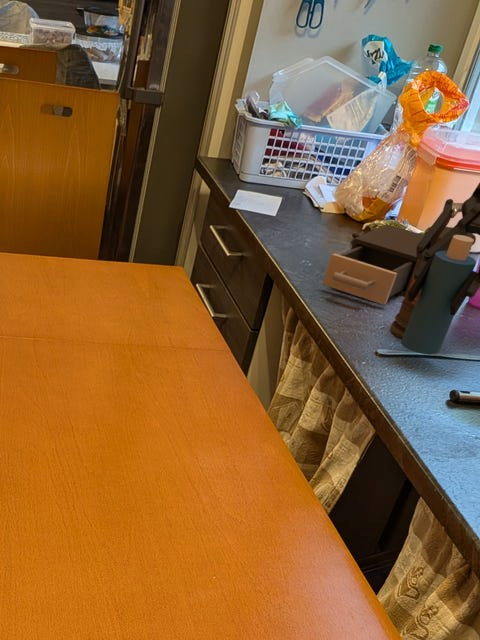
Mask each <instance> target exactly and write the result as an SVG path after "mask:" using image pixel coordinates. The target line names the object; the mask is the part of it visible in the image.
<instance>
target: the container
mask: <svg viewBox="0 0 480 640" xmlns="http://www.w3.org/2000/svg"><path fill="white" fill-rule="evenodd" d="M430 228H431V226H429V227H427V228H426V229H425V230H424V233H423V235H424V236H425V234H426V233H427V232H428V230H429V229H430ZM452 228H453V226H452V227H451V226H446V227H445V229H444V230H443V231H442V233H441V234H440V235H439V237H438V238H437V239H436V241H435V242H434V243H433V245H434V244H435V243H436V242H437V241H439V240H440V239H441V238H442V237H443V236H444V235H445V234H447V233H448V232H449V231H450V230H451V229H452ZM466 236H467V237H470V238H472V239H473V240H474V242H473V244H472V246H474V245H475V243H476V241H477V237H476V234H471V233H468V234H467V235H466ZM433 245H432V246H433ZM432 246H431V247H432ZM431 247H430V248H431ZM471 250H472V248H471V249H470V251H471ZM447 251H448V250H447ZM420 262H421V259H418V261H417V263H416V266H415V269H414V271H415V270H416V268H417V267H418V265H419V263H420ZM414 282H415V280H414V272H413V275H412V278H411V281H410V284H409V287H408V290H407V292H406V295H405V297H404V298H403V299H402V300H401V305H400V308H399V311H398V312H397V314H396V315H395V316H394V320H393V322H392V323H391V325H390V332H391V334H392V335H394V336H395V337H397V338H399V339H401V340H402V338H403V336H404V333H405V331H406V328H407V325H408V323H409V320H410V318H411V315H412V312H413V310H414V307H415V305H416V302H417V300H418V297H419V294H420V292H421V290H420V291H419V293H418V295H417V296H416V298H415V299H414V301H413V302H411V301H408V292H409V290H410V288H411V287H412V285H413V284H414ZM422 287H423V286H422ZM421 289H422V288H421Z"/></svg>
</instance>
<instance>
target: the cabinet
mask: <svg viewBox="0 0 480 640" xmlns="http://www.w3.org/2000/svg"><path fill="white" fill-rule="evenodd" d="M423 237H424V233H423V234H422V233H419V232H415V231H412V230H408V229H405V228H402V227H398V226H394V225H391V224H384V225H382V226H379V227H377V228H375V229H372V230H370V231H368V232H366V233H364V234H361V235H359V236H357V237H354V238H353V241H352V244H351V248H350V250H352V249H354V248H356V247H359V246H361V245H362V246H366V247H369V248H372V249H375V250H379V251H382V252H385V253H389V254H392V255H395V256H398V257H402V258H405V259H408V260H412V261H415V262H416V263H417V261H418V258H417V257H416V247H417V245H418V244H419V242H420V241H421V240H422V238H423ZM416 263H415V266H416ZM415 266H414V269H415ZM414 269H413V271H412V274H411V277H410V279H409V282H408V285H407V287H406V288H405V289H403V290H401V291H399V292H398V293H396V294H395V295H398V296H402V297H404V298H405V295H406V292H407V290H408V287H409V284H410V281H411V278H412V275H413V272H414Z"/></svg>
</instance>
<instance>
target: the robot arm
mask: <svg viewBox="0 0 480 640" xmlns="http://www.w3.org/2000/svg"><path fill="white" fill-rule="evenodd" d="M459 213H461V218H460V219H459V220H458V221H457V223H456V224H455V225H454V226H452V229H451V230H450V231H449V232H448V233H447V234H445V235H444V236H443V237H442V238H441V239H440V240H439V241H437V242H436V243H435V244H434V245H433V243H434V242H435V241H436V239H437V238H438V237H439V235H440V234H441V233H442V231H443V230H444V229H445V227H448V225H449V223H450V222H451V219H454V218H455V217H456V216H457V214H459ZM430 227H431V228H430V229H429V230H428V232H427V233H426V234H425V236H424V237H423V238H422V240H421V241H420V242H419V244H418V245H417V247H416V257H417V258H418V259H421V262H420V263H419V265H418V267H417V268H416V270H415V271H414V280H415V282H414V284H413V285H412V287H411V288H410V290H409V292H408V301H411V302H413V301H414V299H415V298H416V296H417V295H418V293H419V291H420V290H421V288H422V286H423V284H424V281H425V279H426V276H427V274H428V271H429V269H430V266H431V263H432V261H433V258H434V256H435V253H436V252H438V251H447V250H448V248H449V246H450V243H451V240H452V238H453V236H454V235H463V236H466V235H467V234H468V233H471V234H473V235H478V236H480V182H479V183H478V184H477V185H476V187H475V189H474V190H473V192H472V194H471V196H470V197H469V198H467V199H466V200H465V201H463V202H454V200H453V199H452V198H448V199H446V200H445V202H444V206H443V208H442V211H441V213H440V214H439V215H438V217H437V218H436V219H435V221H434V222H433V223H432V225H431V226H430ZM432 245H433V246H432ZM431 246H432V247H431ZM430 247H431V248H430ZM478 265H479V266H478V271H475V270H473V271H472V272H471V274H470V275H469V277H468V279H467V280H466V282H465V283H464V285H463V287H462V288H461V290H460V291H459V293H458V295H457V296H456V298H455V299H454V301H453V303H452V304H451V307H450V315H453V316H454V317H455V316H456V314H457V313H458V311H459V310H460V308H461V306H462V304H463V303H464V301H465V300H466V298H467V297H468V298H471V299H472V298H473V297H474V296H476V294H477V292H478V290H479V289H480V264H478Z"/></svg>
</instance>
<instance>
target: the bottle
mask: <svg viewBox="0 0 480 640" xmlns="http://www.w3.org/2000/svg"><path fill="white" fill-rule="evenodd" d="M473 242H474V240H473V239H472V238H470V237H467V236H463V235H454V236H453V238H452V240H451V243H450V246H449V248H448V251H438V252H436V253H435V256H434V258H433V261H432V263H431V266H430V269H429V271H428V274H427V276H426V279H425V281H424V284H423V287H422V289H421V292H420V294H419V297H418V300H417V302H416V305H415V307H414V310H413V312H412V315H411V318H410V320H409V323H408V325H407V328H406V331H405V333H404V336H403V338H402V339H401V341H400V344H401V346H402V347H403V348H405V349H407V350H409V351H411V352H414V353H416V354H421V355H430V356H431V355H438V353H440V350H441V348H442V346H443V343H444V341H445V339H446V336H447V334H448V331H449V329H450V327H451V324H452V322H453V320H454V317H455V316H453V315H450V307H451V304H452V303H453V301H454V299H455V298H456V296H457V295H458V293H459V291H460V290H461V288H462V287H463V285H464V283H465V282H466V280H467V279H468V277H469V275H470V274H471V272H472V271H474V269H475V266H476V265H477V260H476V259H475V258H474V257H472V256H470V255H469V254H470V252H471V250H472V247H473V245H472V244H473ZM470 249H471V250H470Z"/></svg>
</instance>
